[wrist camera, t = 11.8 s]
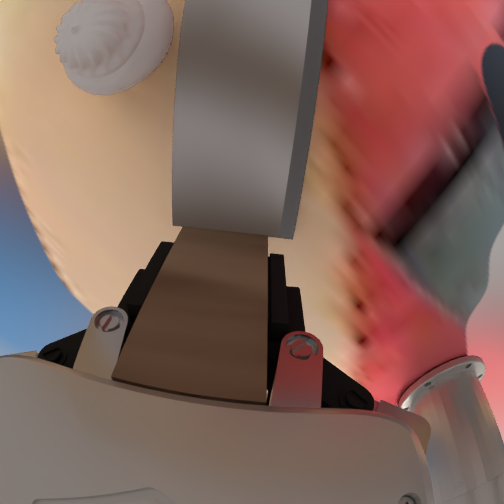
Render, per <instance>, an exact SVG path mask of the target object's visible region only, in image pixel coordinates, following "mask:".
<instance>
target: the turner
mask: <svg viewBox="0 0 504 504" xmlns="http://www.w3.org/2000/svg"><path fill="white" fill-rule="evenodd" d="M310 10H311V0H185V5H184V12H183V19H182V27H181V35H180V44H179V53H178V64H177V75H176V88H175V104H174V123H173V153H172V217H173V226H183V227H182V229H181V231H180V233H179V235H178V237H177V239H176V240H175V242H174V244H173V246H172V248H171V250H170V252H169V254H168V255H167V257H166V259H165V261H164V263H163V265H162V267H161V269H160V271H159V273H158V275H157V277H156V279H155V281H154V283H153V285H152V287H151V289H150V291H149V293H148V295H147V297H146V299H145V301H144V303H143V305H142V307H141V310H140V312H139V314H138V316H137V318H136V320H135V322H134V325H133V327H132V329H131V331H130V333H129V336H128V338H127V340H126V342H125V344H124V347H123V349H122V351H121V354H120V356H119V358H118V361H117V363H116V365H115V368H114V370H113V372H112V375H111V378H112V380H113V381H117V382H121V383H125V384H129V385H133V386H137V387H142V388H146V389H151V390H156V391H161V392H166V393H171V394H176V395H182V396H188V397H194V398H201V399H208V400H215V401H223V402H232V403H241V404H252V405H264V406H265V405H266V398H267V324H268V236H276V237H279V232H280V226H281V220H282V213H283V207H284V201H285V195H286V188H287V182H288V175H289V169H290V162H291V155H292V149H293V142H294V135H295V128H296V121H297V114H298V106H299V99H300V92H301V84H302V76H303V69H304V61H305V53H306V44H307V36H308V27H309V19H310Z"/></svg>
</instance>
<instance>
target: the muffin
mask: <svg viewBox="0 0 504 504" xmlns="http://www.w3.org/2000/svg"><path fill="white" fill-rule="evenodd" d="M56 30H57V33H58V35H57V36H56V37H55V39H54V42H55V43H56V44H57V47H56V49H55V53H56V54H61V55H60V61H61V63H63V65H64V69H65V71H66V73H67V75H68V77H69V79H70V80H71V81H72V83H74V84H75V85H76V86H77V87H78V88H80V89H81V90H83V91H85V92H88V93H90V94H94V95H112V94H116V93H119V92H122V91H124V90H126V89H129V88H131V87H133V86H134V85H136V84H138V83H139V82H141V81H142V80H144V79H145V78H146V77H147V76H149V75H150V74H151V73H152V72H153V71H154V70H155V69H156V68H157V66H158V65H159V64H160V63H162V60H163V58H164V57H165V55H166V54H167V51H168V49H169V46H170V45H171V40H172V38H173V30H174V19H173V14H172V11H171V8H170V6H169V4H168V2H167V1H166V0H82V1H80V2H77V3H76V4H74V5H73V6H72V7H71V8H70V10H69V12H67V13H65V14H64V15H63V17H62V23H61V24H60V25H59V26H58V27H57V28H56Z"/></svg>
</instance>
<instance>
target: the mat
mask: <svg viewBox="0 0 504 504" xmlns="http://www.w3.org/2000/svg"><path fill="white" fill-rule="evenodd" d="M327 8H328V0H311V10H310V19H309V27H308V36H307V44H306V53H305V61H304V69H303V76H302V84H301V92H300V99H299V106H298V114H297V121H296V128H295V135H294V142H293V149H292V155H291V162H290V169H289V175H288V182H287V188H286V195H285V201H284V207H283V213H282V220H281V226H280V232H279V237H277V238H285V239H293V236H294V231H295V226H296V220H297V215H298V209H299V204H300V198H301V193H302V187H303V181H304V175H305V169H306V163H307V157H308V151H309V145H310V139H311V132H312V126H313V119H314V112H315V105H316V98H317V91H318V84H319V77H320V69H321V61H322V53H323V45H324V36H325V27H326V18H327ZM182 227H183V226H182ZM268 237H276V236H268Z"/></svg>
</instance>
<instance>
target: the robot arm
mask: <svg viewBox="0 0 504 504" xmlns="http://www.w3.org/2000/svg"><path fill="white" fill-rule="evenodd" d="M173 244H174V243H172V242H163V241H162V242H161V243H160V245H159V246H158V248H157V250H156V251H155V253H154V255H153V257H152V258H151V260H150V262H149V263H148V265H147V267H146V269H140V270H139V271H138V272H137V274H136V275H135V277H134V279H133V281H132V282H131V284H130V286H129V287H128V289H127V291H126V293H125V294H124V296H123V298H122V300H121V301H120V303H119V305H118V307H106V308H102V309H100V310H98V311H97V312H96V313H95V314H94V315H93V316H92V318H91V320H90V323H89V325H88V328H87V329H85V330H83V331H80V332H78V333H75V334H73V335H70V336H68V337H65V338H63V339H60V340H58V341H55V342H53V343H50V344H48V345H46V346H45V347H44V348H43V349H42V350H41V351H40V353H37V351H30V352H24V353H17V354H11V355H4V356H0V504H504V443H503V440H502V437H501V434H500V431H499V428H498V426H497V423H496V420H495V418H494V415H493V412H492V410H491V407H490V405H489V402H488V400H487V398H486V395H485V393H484V391H483V388H482V386H481V384H480V381H481V379H482V378H483V376H484V373H485V369H486V368H485V364H484V362H483V360H482V359H481V358H480V357H478V356H464V357H460V358H457V359H454V360H451V361H449V362H447V363H445V364H442V365H441V366H439V367H437V368H435V369H433V370H432V371H430V372H429V373H427V374H425V375H424V376H423V377H421V378H420V379H418V380H417V381H416V382H415V383H414V384H412V385H411V386H410V387H409V388H408V389H407V390H406V391H405V392H404V394H403V395H402V397H401V398H400V401H399V405H398V407H397V406H395V405H392V404H390V403H388V402H385V401H383V400H380V401H379V402H378V401H375V400H374V399H373V397H372V395H371V393H370V392H369V391H368V390H367V389H366V388H364V387H363V386H361V385H360V384H359V383H357V382H356V381H355V380H353V379H352V378H350V377H349V376H348V375H346V374H345V373H344V372H342V371H341V370H339V369H338V368H337V367H335V366H334V365H333V364H331V363H330V362H329V361H327V360H326V359H325V358H323V346H322V343H321V342H320V340H319V339H318V338H317V337H316V336H314V335H312V334H310V333H307V332H305V326H304V318H303V310H302V302H301V294H300V289H299V287H289V286H286V277H285V265H284V255H281V254H272V253H270V257H268V324H267V390H268V392H267V398H266V405H265V406H264V405H252V404H241V403H232V402H223V401H215V400H208V399H201V398H194V397H188V396H182V395H176V394H171V393H166V392H161V391H156V390H151V389H146V388H142V387H137V386H133V385H129V384H125V383H121V382H117V381H113V380H112V378H111V375H112V372H113V370H114V368H115V365H116V363H117V361H118V358H119V356H120V354H121V351H122V349H123V347H124V344H125V342H126V340H127V338H128V336H129V333H130V331H131V329H132V327H133V325H134V322H135V320H136V318H137V316H138V314H139V312H140V310H141V307H142V305H143V303H144V301H145V299H146V297H147V295H148V293H149V291H150V289H151V287H152V285H153V283H154V281H155V279H156V277H157V275H158V273H159V271H160V269H161V267H162V265H163V263H164V261H165V259H166V257H167V255H168V254H169V252H170V250H171V248H172V246H173Z"/></svg>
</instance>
